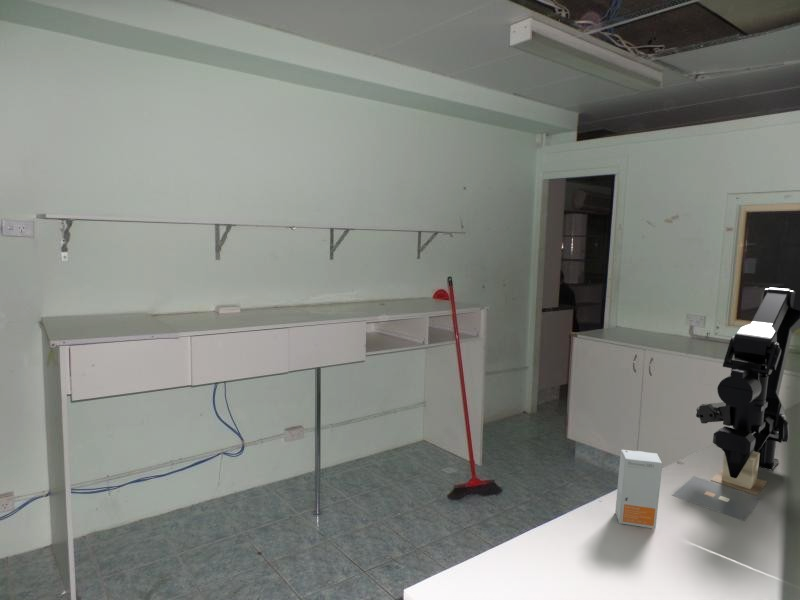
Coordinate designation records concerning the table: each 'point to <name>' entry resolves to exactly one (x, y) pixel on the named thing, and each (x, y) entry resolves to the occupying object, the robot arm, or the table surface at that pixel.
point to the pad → (754, 490)
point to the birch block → (743, 472)
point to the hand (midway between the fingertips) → (740, 470)
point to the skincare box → (638, 488)
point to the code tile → (718, 497)
